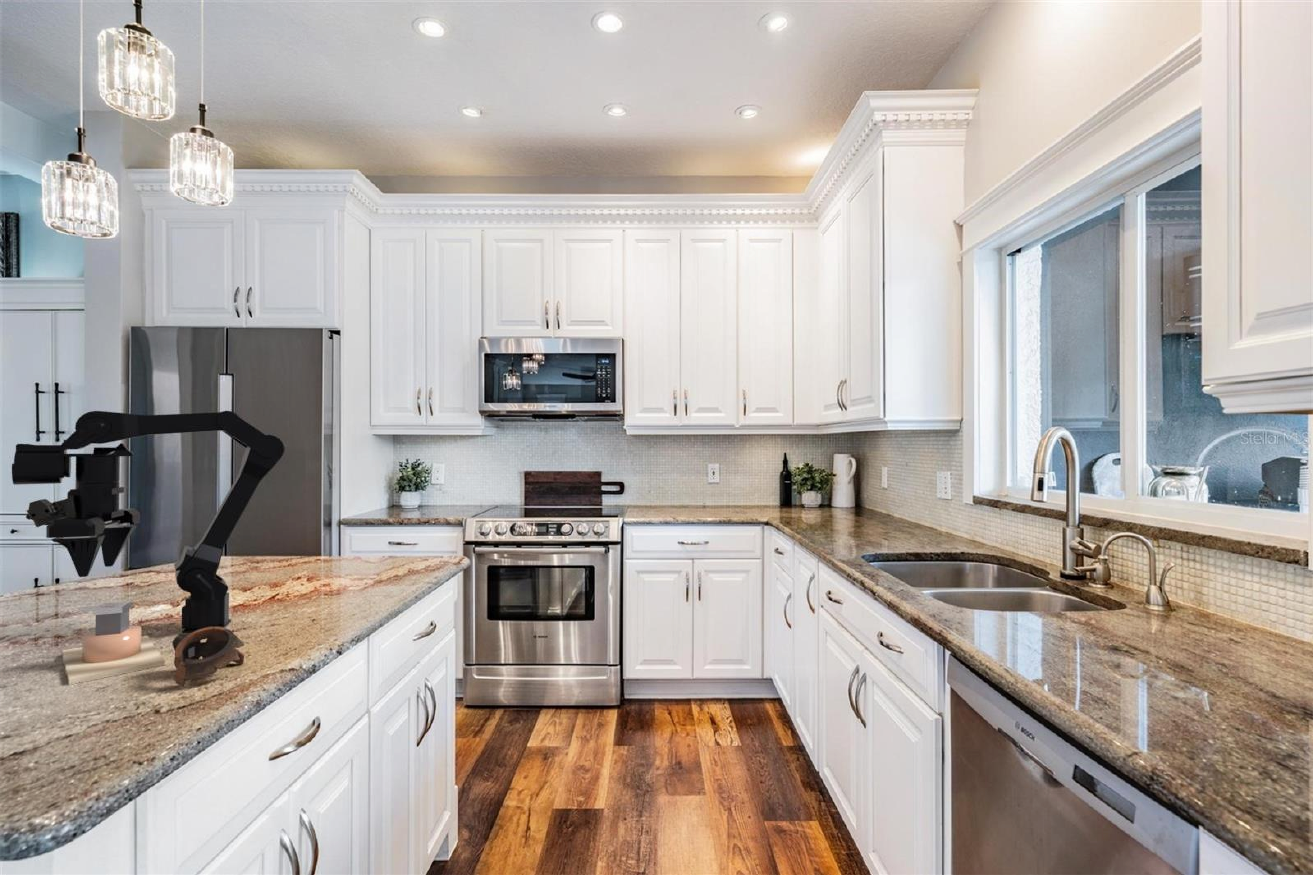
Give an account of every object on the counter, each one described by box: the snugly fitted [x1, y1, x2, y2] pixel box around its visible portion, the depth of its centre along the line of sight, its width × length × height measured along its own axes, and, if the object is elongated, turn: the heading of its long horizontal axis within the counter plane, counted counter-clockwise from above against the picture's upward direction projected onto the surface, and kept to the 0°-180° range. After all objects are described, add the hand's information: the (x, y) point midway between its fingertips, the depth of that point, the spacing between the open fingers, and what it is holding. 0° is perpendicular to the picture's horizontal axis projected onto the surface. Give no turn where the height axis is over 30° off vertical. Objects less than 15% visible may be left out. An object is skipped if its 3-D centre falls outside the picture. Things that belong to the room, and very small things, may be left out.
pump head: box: [77, 600, 133, 616], centre depth 99 cm, size 6×4×4 cm, turn 112°
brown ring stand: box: [172, 627, 245, 687], centre depth 93 cm, size 12×10×8 cm
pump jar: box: [81, 609, 142, 663], centre depth 99 cm, size 7×7×7 cm
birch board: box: [61, 635, 165, 686], centre depth 99 cm, size 18×11×1 cm, turn 47°
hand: (96, 571), depth 106 cm, fingers open, 9 cm apart
